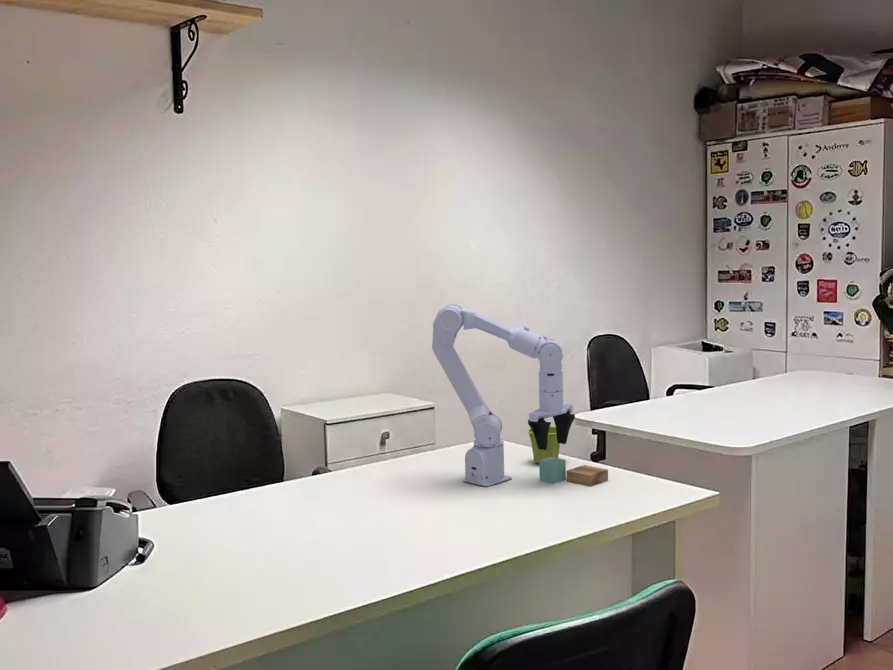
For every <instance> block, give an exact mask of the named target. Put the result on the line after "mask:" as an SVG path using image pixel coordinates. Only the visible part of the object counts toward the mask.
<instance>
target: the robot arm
mask: <svg viewBox="0 0 893 670" xmlns="http://www.w3.org/2000/svg"><path fill="white" fill-rule="evenodd" d="M462 327H463V331H465V330H467V331H468V330H474V329H476V330H480V331H482V332H484V333H487V334H490V335H492V336H494V337H497V338H499V339H502V340H505V341H506V342H507V344H508V347H509V349H510V350H514V351H516V352H517V353H520V354H522V355H524V356H527V357H529V358H531V359H538V361H539V371H538V397H539V399H538V400H539V401H538V403H539V406H538V407H539V408H537V409H536V410H534V411H531V412H529V413H528V420H527V424H528V426H529V427H530V428H531V429H532V431H533V433H534V436H535V439H536V442H537V446H538V449H542V450H546V449H547V441H548V431H549V427H550V426H552V425H551V424H552V422H550V421H546V420H545V419H549V418H552V419H553V422H554V425H555V426H554V427H556V434H557V441H558V443H560V445H562V444H563V445H566V444H567V441H568V437H569V433H570V429H571V428H572V427H571V426H572V424H573V422H574V420H575V419H576V415H575V414H574V404H571V403H564V378H563V377H564V374H563V370H562V369H563V364H562V361H563V358H564V354H563V348H562V346H561V345H560V343H559V342H557V340H555V339H553V338H549V337H548V335H540V334H538V333H536V332H533V331H531V330H530V327H528V326H526V325H524V326H521V325H520V326H516V327H514V328H512V327H510V326H507V325H505V324H503V323H501V322H499V321H497V320H495V319H493V318H490V317H489V316H487V315H485V314H482V313H480V312H478V311H476V310H473V309H470V308H468V307H461V306H460V305H458V304H456V303H455V304H454V303H453V304H452V303H451V304H447V305H445V306H444V307H443V308H441V309H439V311H438V312H437V314H436V316H435V319H434V320H433V323H432V344H431V345H432V346H431V349H432V352H433V353H434V355H435V357H436V359H437V361H438V363H439V364H440V366H441V368H442V370H443V371H444V373H445V375H446V377H447V378H448V379H447V380H449V382H450V384H451V386H452V387H453V389H454V391H455V393H456V395H457V396H458V398H459V400H460V402H461V404H462V405H463V407H464V409H465V410H466V412H467V415H468V418H469V421H470V425H471V426H472V428H473V435H474V438H475V439H474V440H473V446H472V447H470V448H469V449H468V450H467V451H466V453H465V454H464V471H465V472H464V473H465V477H464V478H463V479H462V481H463V482H464V483H470V484H474V485H478V486H483V487H490V486H493V485H496V484H499V483H503V482H506V481H508V480H512V479H513V476H511V475H505V456H504V455H505V454H504V453H505V451H504V444H505V443H504V441H503V440H502V439H501V433H502V430H503V422H502V420H501V418H500V417H499V416H498V415H496V414H495V413H493V411H492V410H491V408H490V407H489V406H488V405H487V403H486V402H485V400H484V399H483V397H482V395H481V394H480V392H479V390H478V388H477V386H476V385H475V383H474V380H473V379H472V378H471V376H470V374H469V372H468V370H467V369H466V367H465V365H464V363H463V361H462V359H461V357H460V356H459V355H458V351H456V349H455V347H454V345H455V341H456V339H457V337H458V336H457V335H458V333H459V331H460V330H461V329H462Z"/></svg>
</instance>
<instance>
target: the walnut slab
mask: <svg viewBox="0 0 893 670" xmlns="http://www.w3.org/2000/svg"><path fill="white" fill-rule="evenodd" d="M607 481H609V469H607V468H602V467H598V466H592V465H587V464H583V465H580V466H576V467H574V468H570V469H568V470H567V469H566V482H568V483H573V484H577V485H581V486H586V487H593V486H596V485H598V484H602V483H605V482H607Z"/></svg>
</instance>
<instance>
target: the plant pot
mask: <svg viewBox="0 0 893 670" xmlns="http://www.w3.org/2000/svg"><path fill="white" fill-rule="evenodd" d="M526 432H527V433H528V435H529V438H530V443H531V449H532V455H533V460H534V463H535V464H539V460H542V459H546V458H549V457H554V458H559V455H560V447H561V443H558V441H557V434H556V426H553V425H550V427H549V431H548V441H547V449H546V450H542V449H538V446H537V442H536V439H535V436H534V433H533V431H532V429H531V427H530V428H527V430H526Z"/></svg>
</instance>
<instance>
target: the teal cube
mask: <svg viewBox="0 0 893 670" xmlns="http://www.w3.org/2000/svg"><path fill="white" fill-rule="evenodd" d="M566 460H567V459H564V458H559V457H558V458H554V457H549V458H546V459H542V460H539V463H538V467H539V471H538V472H539V481H540V480H542V481H541V482H544V481H546V482H545V483H549V482H550V483H551V484H554V483H555V484H558V483H561V482H562V481H565V480H566V481H567V469H566V468H567V467H566V465H567V464H566V463H567V462H566ZM557 482H558V483H557Z"/></svg>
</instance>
